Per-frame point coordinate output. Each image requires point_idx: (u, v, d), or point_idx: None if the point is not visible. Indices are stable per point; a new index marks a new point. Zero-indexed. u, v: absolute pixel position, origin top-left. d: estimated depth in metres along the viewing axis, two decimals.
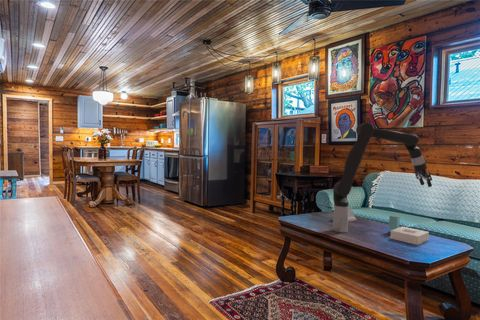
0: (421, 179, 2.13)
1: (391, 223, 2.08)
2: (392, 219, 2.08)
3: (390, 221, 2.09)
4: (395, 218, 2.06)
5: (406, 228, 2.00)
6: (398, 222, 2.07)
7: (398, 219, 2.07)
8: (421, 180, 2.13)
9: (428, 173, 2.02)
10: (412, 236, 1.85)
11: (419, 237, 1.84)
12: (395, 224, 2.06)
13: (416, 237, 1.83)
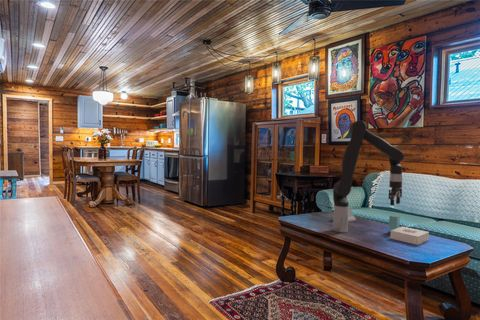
0: (398, 198, 2.10)
1: (391, 223, 2.08)
2: (392, 219, 2.08)
3: (390, 221, 2.09)
4: (395, 218, 2.06)
5: (406, 228, 2.00)
6: (398, 222, 2.07)
7: (398, 219, 2.07)
8: (397, 199, 2.10)
9: (391, 191, 2.03)
10: (412, 236, 1.85)
11: (419, 237, 1.84)
12: (395, 224, 2.06)
13: (416, 237, 1.83)
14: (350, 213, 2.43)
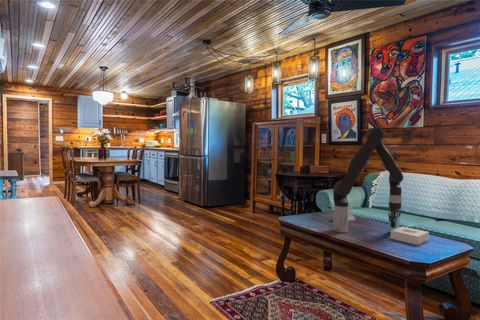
0: None
1: (390, 223, 2.08)
2: None
3: (390, 221, 2.09)
4: None
5: (406, 228, 2.00)
6: (398, 222, 2.07)
7: (398, 219, 2.07)
8: None
9: (390, 215, 2.04)
10: (412, 236, 1.85)
11: (419, 237, 1.84)
12: (395, 224, 2.06)
13: (416, 237, 1.83)
14: (349, 213, 2.43)
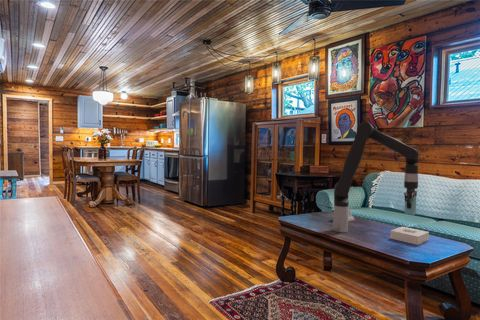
0: None
1: (406, 204, 1.93)
2: None
3: (406, 202, 1.94)
4: None
5: (406, 228, 2.00)
6: (415, 203, 1.92)
7: (414, 199, 1.92)
8: None
9: (406, 194, 1.89)
10: (412, 236, 1.85)
11: (419, 237, 1.84)
12: (411, 205, 1.91)
13: (416, 237, 1.83)
14: (349, 213, 2.43)
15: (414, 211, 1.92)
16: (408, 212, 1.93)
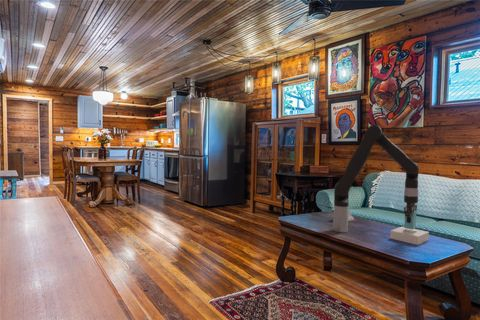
0: None
1: (406, 218, 1.93)
2: None
3: None
4: None
5: (406, 228, 2.00)
6: (414, 217, 1.92)
7: (414, 214, 1.91)
8: None
9: (406, 209, 1.89)
10: (412, 236, 1.85)
11: (419, 237, 1.84)
12: (411, 219, 1.91)
13: (416, 237, 1.83)
14: (348, 213, 2.43)
15: (414, 225, 1.92)
16: (408, 226, 1.92)
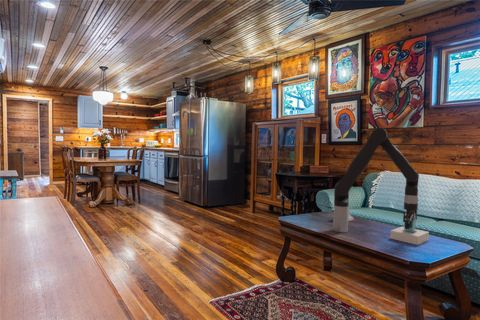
0: None
1: None
2: None
3: None
4: (411, 222, 1.91)
5: None
6: (414, 227, 1.92)
7: (414, 223, 1.92)
8: None
9: (406, 214, 1.88)
10: (412, 236, 1.85)
11: (419, 237, 1.84)
12: (411, 229, 1.91)
13: (416, 237, 1.83)
14: (348, 213, 2.43)
15: None
16: None
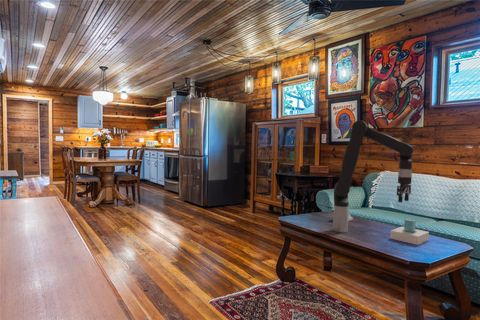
0: (406, 194, 2.00)
1: (406, 227, 1.93)
2: (407, 223, 1.92)
3: (405, 225, 1.93)
4: (411, 222, 1.91)
5: None
6: (414, 227, 1.92)
7: (414, 223, 1.92)
8: (406, 195, 2.00)
9: (399, 187, 1.93)
10: (412, 236, 1.85)
11: (419, 237, 1.84)
12: (411, 229, 1.91)
13: (416, 237, 1.83)
14: None
15: None
16: None
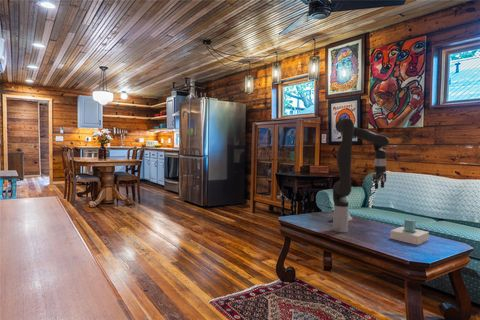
0: (382, 182, 2.20)
1: (406, 227, 1.93)
2: (407, 223, 1.92)
3: (405, 225, 1.93)
4: (411, 222, 1.91)
5: None
6: (414, 227, 1.92)
7: (414, 223, 1.92)
8: (382, 183, 2.20)
9: (375, 175, 2.13)
10: (412, 236, 1.85)
11: (419, 237, 1.84)
12: (411, 229, 1.91)
13: (416, 237, 1.83)
14: None
15: None
16: None
